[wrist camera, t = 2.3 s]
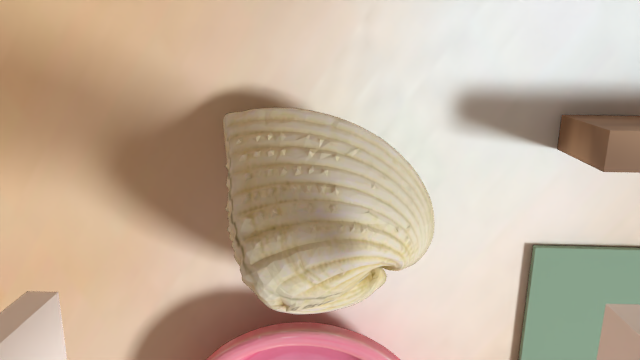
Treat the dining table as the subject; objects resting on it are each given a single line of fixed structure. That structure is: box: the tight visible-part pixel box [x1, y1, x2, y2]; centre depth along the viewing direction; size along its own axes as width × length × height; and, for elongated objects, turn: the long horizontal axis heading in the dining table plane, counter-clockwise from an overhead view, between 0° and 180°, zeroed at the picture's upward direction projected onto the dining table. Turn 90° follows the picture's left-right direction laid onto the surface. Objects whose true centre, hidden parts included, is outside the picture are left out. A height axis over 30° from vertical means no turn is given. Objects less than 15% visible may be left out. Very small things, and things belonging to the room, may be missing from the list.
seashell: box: [223, 107, 434, 314], centre depth 21 cm, size 8×8×8 cm
